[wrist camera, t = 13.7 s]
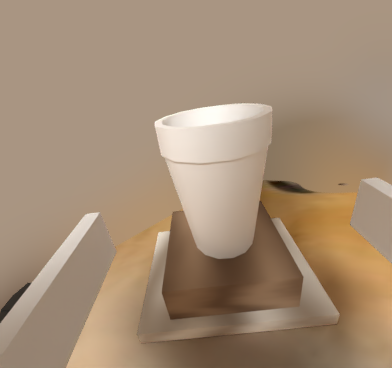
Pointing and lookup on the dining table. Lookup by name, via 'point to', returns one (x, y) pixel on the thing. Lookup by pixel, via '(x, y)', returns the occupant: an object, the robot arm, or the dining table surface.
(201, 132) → the foam cup
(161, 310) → the build base
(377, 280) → the dining table surface
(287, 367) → the dining table surface
